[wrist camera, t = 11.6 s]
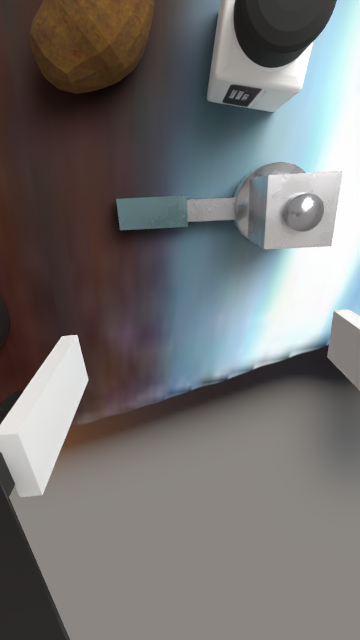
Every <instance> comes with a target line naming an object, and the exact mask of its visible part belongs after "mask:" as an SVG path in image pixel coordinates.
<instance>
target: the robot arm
mask: <svg viewBox="0 0 360 640" xmlns="http://www.w3.org/2000/svg"><path fill="white" fill-rule="evenodd" d="M9 327H10V322H9V315H8V311H7V308H6V306H5V304H4V302H3V300H2V298H1V296H0V349H1V347H2V346H3V345H4V343H5V342H6V340H7V337H8V334H9ZM328 358H329V359H330V360H331V361H332V362H333V363H334V365H335V366H336V367H337V368H338V369H339V370H340V371H341V372H342V373H343V374H344V375H345V376H346V377H347V378H348V379H349V380H350V381H351V382H352V383H353V384H354V385H355V386H356V387H357V388H358V389H359V390H360V316H358V315H356V314H355V313H353V312H352V311H350V310H349V309H348V310H338V311H334V314H333V321H332V328H331V335H330V342H329V350H328ZM87 382H88V377H87V373H86V368H85V364H84V360H83V356H82V352H81V348H80V344H79V340H78V336H77V335H70V336H62V337H61V339H60V340H59V341H58V343H57V344H56V346H55V347H54V349H53V350H52V351H51V353H50V354H49V356H48V357H47V359H46V360H45V361H44V363H43V364H42V366H41V367H40V369H39V370H38V371H37V373H36V374H35V376H34V377H33V379H32V380H31V381H30V383H29V384H28V386H27V387H26V389H25V390H24V391H16V392H14V393H13V394H12V395H10V396H9V397H8V398H6V399H5V400H4V401H3V402H2V404H1V405H0V640H70V639H69V636H68V634H67V632H66V629H65V627H64V625H63V623H62V620H61V618H60V615H59V613H58V611H57V608H56V606H55V604H54V601H53V599H52V597H51V595H50V592H49V590H48V587H47V585H46V583H45V580H44V578H43V576H42V573H41V571H40V569H39V566H38V564H37V562H36V559H35V557H34V555H33V552H32V550H31V548H30V545H29V543H28V541H27V538H26V536H25V534H24V531H23V529H22V527H21V524H20V522H19V520H18V518H17V515H16V513H15V510H14V508H13V506H12V504H11V501H10V499H9V495H10V494H11V492H12V490H13V488H14V486H15V488H16V490H17V492H18V494H19V497H28V496H38V495H42V494H43V492H44V490H45V487H46V485H47V482H48V480H49V477H50V475H51V472H52V470H53V467H54V465H55V462H56V460H57V457H58V455H59V452H60V450H61V447H62V445H63V442H64V440H65V437H66V435H67V432H68V429H69V427H70V425H71V422H72V420H73V417H74V415H75V412H76V410H77V407H78V405H79V402H80V400H81V397H82V395H83V392H84V390H85V387H86V385H87Z"/></svg>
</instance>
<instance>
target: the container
mask: <svg viewBox="0 0 360 640" xmlns="http://www.w3.org/2000/svg"><path fill="white" fill-rule="evenodd" d="M336 1H337V0H221V3H220V8H219V13H218V20H217V27H216V34H215V42H214V49H213V56H212V63H211V70H210V78H209V85H208V92H207V100H208V101H210V102H215V103H221V104H227V105H233V106H239V107H245V108H251V109H257V110H263V111H269V112H275V111H276V110H277V109H279V108H280V107H281V106H282V105H283V104H285V103H286V102H287V101H288V100H290V99H291V98H292V97H293V96H294V95H296V94H297V93H298V92H299V91H301V89H302V86H303V82H304V78H305V74H306V70H307V66H308V61H309V57H310V53H311V49H312V45H313V41H314V40H315V39H316V38H317V37H318V35H319V34H320V33H321V32H322V30H323V29H324V28H325V26H326V24H327V23H328V21H329V19H330V17H331V15H332V13H333V10H334V7H335V4H336Z"/></svg>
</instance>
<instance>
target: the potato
mask: <svg viewBox="0 0 360 640" xmlns="http://www.w3.org/2000/svg"><path fill="white" fill-rule="evenodd" d="M153 11H154V0H43V1H42V4H41V6H40V8H39V10H38V12H37V14H36V16H35V18H34V19H33V21H32V26H31V31H30V36H29V39H30V43H31V48H32V52H33V55H34V58H35V61H36V63H37V65H38V67H39V69H40V70H41V72H42V74H43V76H44V77H45V78H46V79H47V80H48V81H49V82H50V83H52V84H53V85H54V86H55V87H57V88H58V89H59V90H63V91H67V92H71V93H75V94H80V93H86V92H92V91H96V90H99V89H102V88H106V87H108V86H110V85H113V84H115V83H117V82H119V81H120V80H122V79H123V78H124V77H126V76H127V75H128V74H129V73H130V72H132V71H133V70H134V69H135V68H136V66H137V65H138V63H139V62H140V60H141V58H142V56H143V53H144V50H145V47H146V44H147V40H148V36H149V32H150V28H151V22H152V17H153Z"/></svg>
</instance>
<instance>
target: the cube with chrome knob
mask: <svg viewBox="0 0 360 640" xmlns="http://www.w3.org/2000/svg"><path fill="white" fill-rule="evenodd" d="M341 177H342V171H337V172H318V173H299V174H281V175H267V176H261V177H256V178H250V186H249V211H248V236H247V239H249V240H250V241H252V242H253V243H255V244H256V245H258V246H259V247H261V248H263V249H282V248H301V247H321V246H331V243H332V236H333V230H334V223H335V216H336V210H337V203H338V197H339V190H340V183H341Z"/></svg>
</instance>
